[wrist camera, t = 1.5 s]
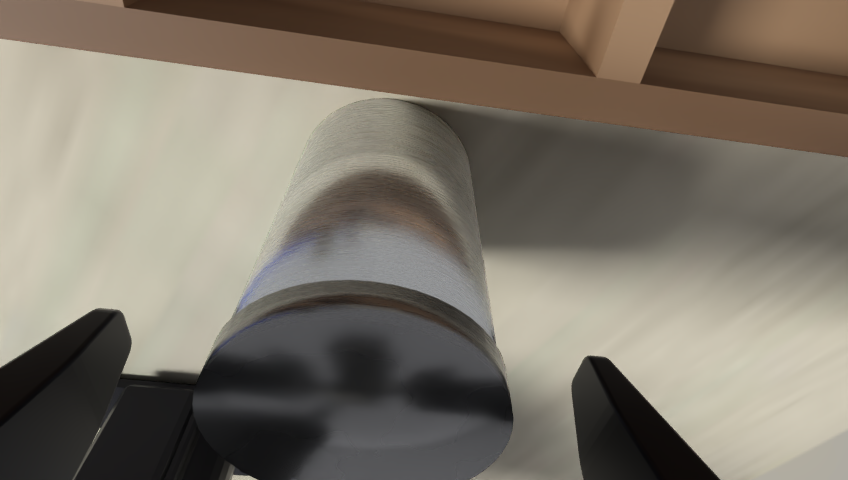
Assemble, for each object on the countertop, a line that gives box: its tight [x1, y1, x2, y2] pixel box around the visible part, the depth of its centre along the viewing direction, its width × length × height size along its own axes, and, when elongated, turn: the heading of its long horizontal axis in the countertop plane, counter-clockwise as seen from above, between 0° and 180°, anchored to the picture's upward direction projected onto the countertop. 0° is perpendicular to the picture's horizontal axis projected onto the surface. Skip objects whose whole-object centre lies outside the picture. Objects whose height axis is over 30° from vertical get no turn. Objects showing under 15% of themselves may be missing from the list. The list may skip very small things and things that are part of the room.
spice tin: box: [192, 98, 513, 480], centre depth 11 cm, size 5×5×8 cm
